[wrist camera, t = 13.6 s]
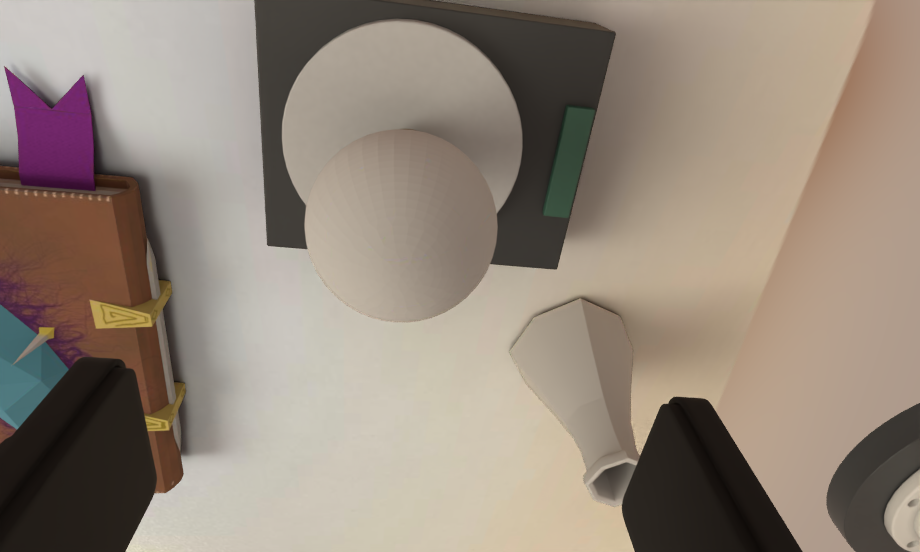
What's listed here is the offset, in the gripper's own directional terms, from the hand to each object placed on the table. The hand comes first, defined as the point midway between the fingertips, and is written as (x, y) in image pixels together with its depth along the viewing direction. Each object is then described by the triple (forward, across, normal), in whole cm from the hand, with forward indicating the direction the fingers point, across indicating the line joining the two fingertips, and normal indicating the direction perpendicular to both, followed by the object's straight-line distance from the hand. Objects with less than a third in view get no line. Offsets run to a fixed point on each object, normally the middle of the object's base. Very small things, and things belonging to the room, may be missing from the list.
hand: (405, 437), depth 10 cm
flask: (+20, -10, +12) cm, 25 cm away
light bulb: (+16, +1, 0) cm, 16 cm away
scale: (+19, 0, 0) cm, 19 cm away
